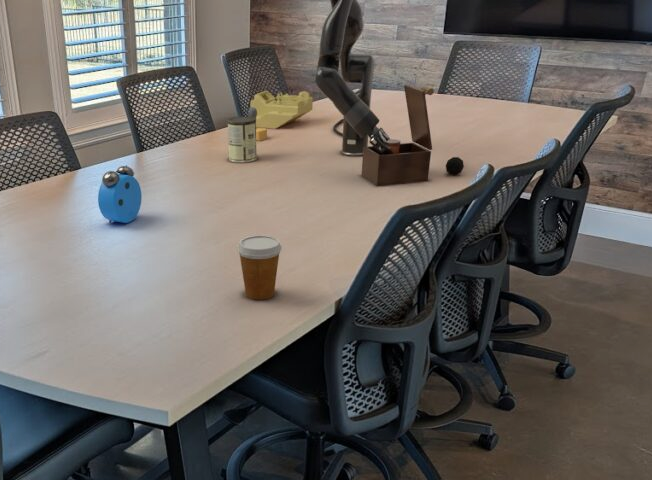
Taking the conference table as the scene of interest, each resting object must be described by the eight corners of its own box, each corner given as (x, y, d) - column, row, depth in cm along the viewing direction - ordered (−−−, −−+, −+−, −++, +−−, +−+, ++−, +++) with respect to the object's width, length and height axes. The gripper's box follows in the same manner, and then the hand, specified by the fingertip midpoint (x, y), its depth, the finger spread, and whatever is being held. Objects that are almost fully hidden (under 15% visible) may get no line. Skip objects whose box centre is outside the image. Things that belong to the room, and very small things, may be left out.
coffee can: (235, 155, 269) (234, 115, 262) (261, 156, 265) (260, 116, 258) (224, 161, 261) (222, 121, 254) (250, 163, 257) (249, 122, 250)
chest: (376, 186, 228) (378, 156, 223) (361, 175, 239) (363, 146, 234) (427, 181, 230) (431, 151, 226) (410, 170, 241) (413, 142, 237)
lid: (422, 91, 215) (439, 85, 216) (403, 85, 227) (420, 79, 227) (430, 150, 225) (446, 144, 225) (412, 141, 236) (427, 135, 237)
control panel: (244, 92, 304) (265, 80, 317) (242, 129, 314) (262, 116, 328) (296, 104, 296) (315, 91, 309) (291, 142, 306) (310, 128, 320)
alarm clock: (127, 213, 213) (122, 162, 205) (144, 215, 210) (139, 164, 203) (100, 226, 203) (93, 173, 196) (118, 229, 201) (111, 175, 193)
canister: (378, 169, 234) (380, 139, 229) (393, 168, 235) (396, 138, 230) (384, 174, 230) (387, 143, 225) (400, 172, 231) (403, 142, 226)
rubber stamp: (239, 138, 293) (238, 107, 287) (247, 135, 297) (246, 104, 291) (259, 140, 288) (258, 109, 281) (267, 138, 292) (267, 106, 285)
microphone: (451, 170, 251) (447, 178, 234) (448, 153, 249) (443, 160, 232) (468, 166, 249) (464, 173, 232) (465, 149, 247) (461, 155, 230)
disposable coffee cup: (253, 282, 165) (252, 232, 159) (289, 290, 160) (289, 239, 154) (230, 297, 159) (228, 245, 152) (266, 306, 154) (266, 253, 148)
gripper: (366, 114, 219) (403, 155, 222) (373, 105, 231) (407, 145, 233) (348, 131, 223) (384, 172, 226) (355, 122, 235) (390, 161, 238)
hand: (396, 158), depth 230 cm, fingers closed on canister, 5 cm apart
